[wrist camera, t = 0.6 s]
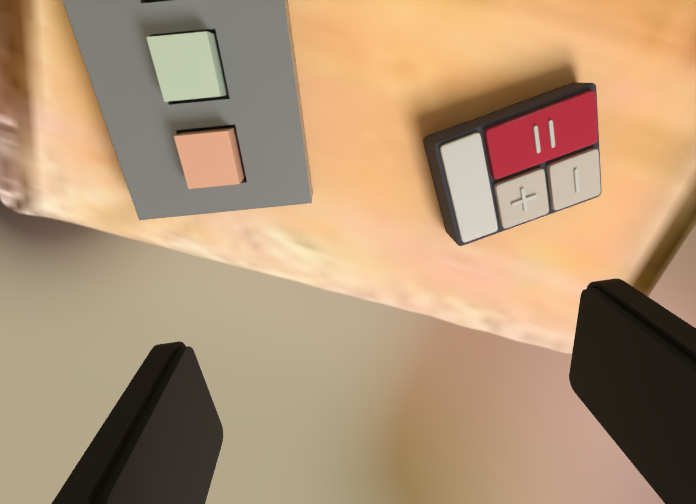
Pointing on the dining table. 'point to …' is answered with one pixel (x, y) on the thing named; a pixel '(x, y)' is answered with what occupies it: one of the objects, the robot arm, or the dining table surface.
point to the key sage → (188, 66)
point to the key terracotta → (210, 157)
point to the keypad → (198, 100)
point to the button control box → (517, 163)
